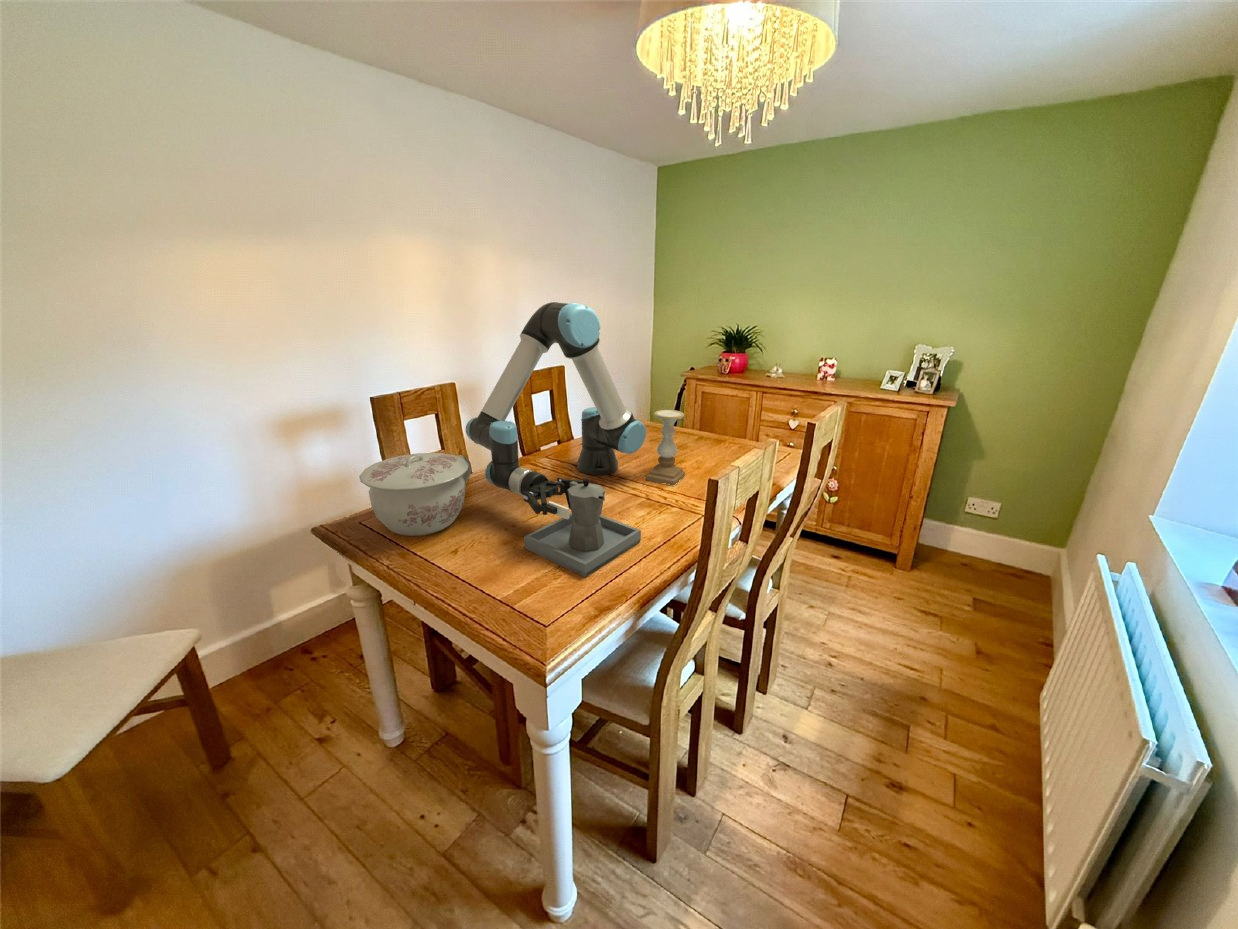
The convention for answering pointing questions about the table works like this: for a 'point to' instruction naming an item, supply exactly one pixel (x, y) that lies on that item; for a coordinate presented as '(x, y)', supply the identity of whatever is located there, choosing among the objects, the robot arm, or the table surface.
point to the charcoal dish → (558, 550)
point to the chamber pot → (417, 491)
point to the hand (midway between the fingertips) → (587, 504)
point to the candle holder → (667, 451)
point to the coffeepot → (585, 514)
